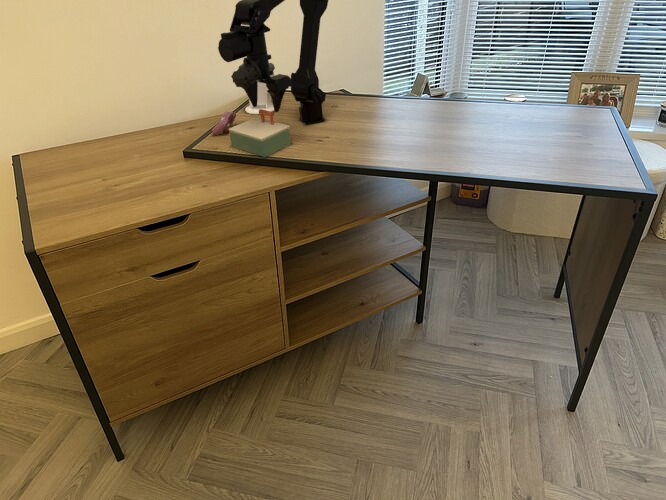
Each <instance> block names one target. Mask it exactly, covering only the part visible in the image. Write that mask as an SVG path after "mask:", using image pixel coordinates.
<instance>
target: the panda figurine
mask: <svg viewBox="0 0 666 500" xmlns="http://www.w3.org/2000/svg"><path fill="white" fill-rule="evenodd" d="M243 65H244V63H242V64H240V65H239V66H238V68H237V70H238V69H239V68H240V67H242V66H243ZM269 67H270V70H273V71H275V69H276V66H275V64H274V63H272V62H269ZM273 76H275V73H274V74H273V75H270V77H273ZM264 80H265V79H264ZM267 90H268V88H267V87H266V83H261V82H258V90H257V106H256V107H253V105H252V103H251V101H250V99H249V98H248V101H249V105H248V106H246V107H245V109H244V110H245V113H247V114H249V115H260V114H259V110H260V109H262V110H266V111H270V112H275V110H274V107H273V102H272V97H271V95H270V94H269V93H268V92H267Z"/></svg>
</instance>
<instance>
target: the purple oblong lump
mask: <svg viewBox="0 0 666 500" xmlns="http://www.w3.org/2000/svg"><path fill="white" fill-rule="evenodd" d="M236 117H237V112H235V111H232V110H230V109H228V111H225V112H223V113H222V115H221V117H220V118H219V120H218V122H217V123H216V125H215V126H214V127H212V129H211V134H212V136H219V135H221V134H223V132H224V133H228V131H229V129H230V128H232V127H233V123H234V121H235V120H236Z"/></svg>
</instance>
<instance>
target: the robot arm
mask: <svg viewBox="0 0 666 500" xmlns="http://www.w3.org/2000/svg"><path fill="white" fill-rule="evenodd" d="M285 1H286V0H239V1H238V2H237V3H236V4H235V9H234V14H233V17H232V20H231V24H230V27H229V32H222V33H220V39H219V41H218V46H217V50H218V53H219V56H220V57H221V60H223V61H224V62H226V63H231V62H235V61H237V60H240V59H243V60H242V62H243V63H244V65H243V66H242V67H240V68H239V67H238V68H239V69H238V68H237V70H234V71H233V72H232V73H231V76H230V77H231V79H232V83H234V85H235V87H236V88H242V89H243V90H244V92H245V94H246V95H247V97H248V100H249V99H250V101H251V103H252V105H253V107H256V106H257V90H258V82H261V83H266V87H267V88H268V90H267V92H268V93H269V94H270V95H271V96H270V97H271V102H272V103H273V107H274V113H278V112H279V111H280V108H281V105H282V102H283V98H284V95H285V93H286V91H287V90H288V89H289V88H290V94H291V95H292V96H293V98H294V100H295V102H299V107H298V112H299V119H300V120H301V121H302V122H303V123H304V124H305V125H308V126H309V125H313V124H317V123H321V122H325V121H326V119H325V118H324V117H323V116H324V115H323V104H324V103H325V102H326V97H327V94H326V92H324V91H323V90H322V89H321V88H320V80H319V76H318V74H317V70H316V64H317V53H318V46H319V45H318V44H319V36H320V26H321V18H322V17H323V15H324V14H325V12H326V10H327V9H328V5H329V0H299V8H300V9H301V12H302V14H303V17H302V18H303V19H302V30H301V40H300V52H299V60H298V68H297V69H296V71H295V72H291V74H290V76H289V75H288V74H281V73H278V74H276V75H275V72H274V70H270V67H269V63H270V60H272V54H268V48H267V42H266V34H265V33H268V32H271V28H270V27H269V26H267V25H266V24H265V22H266V21H268V19H269V18H270V16H271V13H272V11H273V10H274V9H275V8H276V7H278V6H279V5H281V4H282V3H284V2H285ZM243 63H242V64H243ZM273 74H274V75H275V76H273V77H270V75H273ZM264 79H265V80H264Z"/></svg>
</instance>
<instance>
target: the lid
mask: <svg viewBox="0 0 666 500" xmlns="http://www.w3.org/2000/svg"><path fill="white" fill-rule="evenodd" d="M258 115H260V117H258V116H256V117H253V118H251V119H249V120H246V121H244V122H242V123H239V124H237V125H234V126H232V127H231V128H230V129H229V128H228V132H229V131H230V132H233V133H236V134H240V135H243V136H246V137H250V138H253V139H256V140H259V141H264V140H266V139H268V138H270V137H272V136H274V135H276V134H278V133H281V132H283V131H285V130H287V129H291V126H290V125H288V124H285V123H281V122H278V121H275V120H274V115H275V112H274V111H272V112H270V111H266V110H262V109H260V110H259V114H258ZM265 116H266V117H269V119H266V118H265Z"/></svg>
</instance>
